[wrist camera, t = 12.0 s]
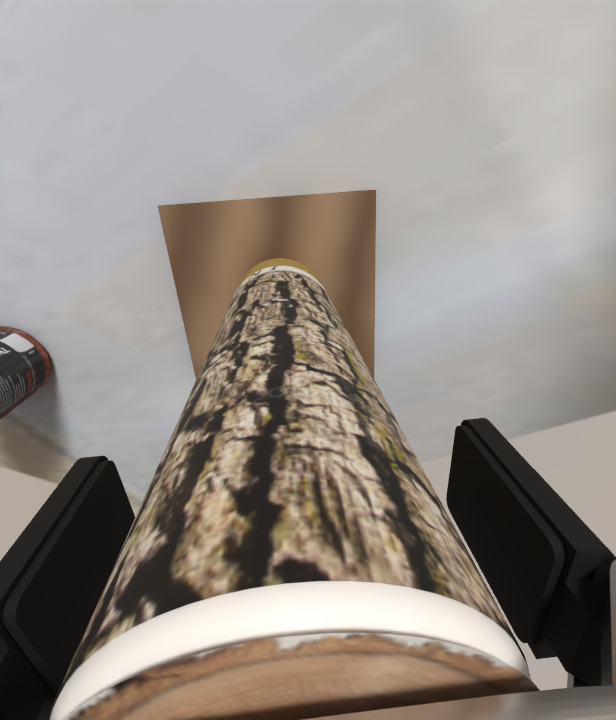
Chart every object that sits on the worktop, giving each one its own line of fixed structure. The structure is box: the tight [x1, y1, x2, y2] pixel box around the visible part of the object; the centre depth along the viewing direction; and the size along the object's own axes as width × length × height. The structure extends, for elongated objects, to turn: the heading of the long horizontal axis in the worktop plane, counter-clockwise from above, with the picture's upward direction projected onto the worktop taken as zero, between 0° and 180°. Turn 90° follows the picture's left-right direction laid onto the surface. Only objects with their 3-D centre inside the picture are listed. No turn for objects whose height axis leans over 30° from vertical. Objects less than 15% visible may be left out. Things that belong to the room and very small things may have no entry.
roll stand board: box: [158, 190, 376, 380], centre depth 28 cm, size 15×15×2 cm
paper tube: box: [49, 258, 540, 720], centre depth 16 cm, size 7×7×25 cm
